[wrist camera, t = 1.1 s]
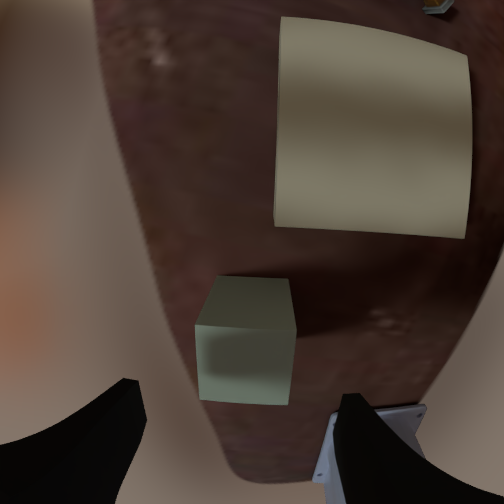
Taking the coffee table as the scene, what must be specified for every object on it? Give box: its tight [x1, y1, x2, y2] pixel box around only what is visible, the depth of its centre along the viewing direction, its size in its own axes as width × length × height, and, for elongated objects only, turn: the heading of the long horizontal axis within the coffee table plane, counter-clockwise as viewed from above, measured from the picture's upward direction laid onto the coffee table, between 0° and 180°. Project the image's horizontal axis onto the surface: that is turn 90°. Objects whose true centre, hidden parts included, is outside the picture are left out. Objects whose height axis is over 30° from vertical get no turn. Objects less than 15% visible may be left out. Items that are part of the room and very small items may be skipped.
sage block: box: [195, 275, 297, 405], centre depth 16 cm, size 4×4×6 cm
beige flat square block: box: [274, 17, 472, 239], centre depth 14 cm, size 10×10×3 cm
